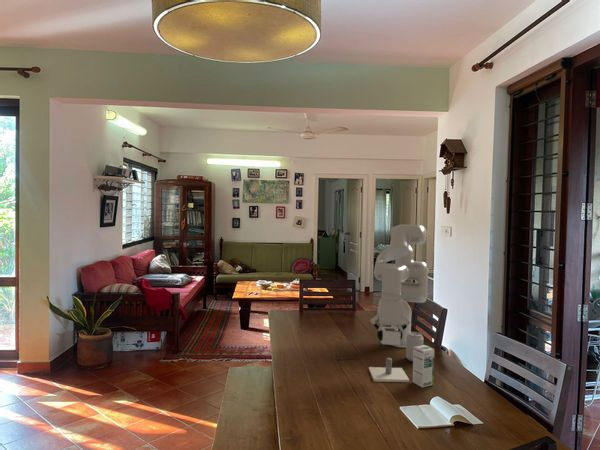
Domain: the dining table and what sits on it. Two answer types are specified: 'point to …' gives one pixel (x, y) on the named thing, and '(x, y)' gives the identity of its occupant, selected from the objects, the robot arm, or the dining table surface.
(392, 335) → the grey hollow square block
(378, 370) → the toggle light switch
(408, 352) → the can
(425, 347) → the syrup box
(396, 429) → the dining table surface
